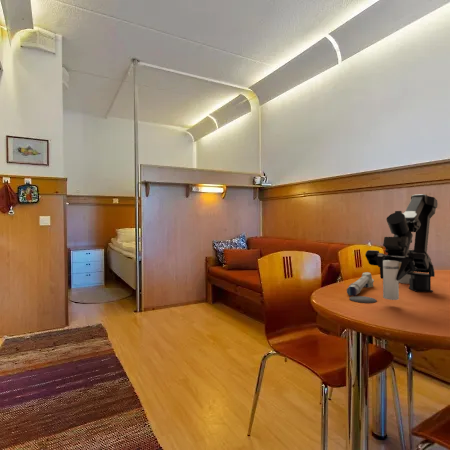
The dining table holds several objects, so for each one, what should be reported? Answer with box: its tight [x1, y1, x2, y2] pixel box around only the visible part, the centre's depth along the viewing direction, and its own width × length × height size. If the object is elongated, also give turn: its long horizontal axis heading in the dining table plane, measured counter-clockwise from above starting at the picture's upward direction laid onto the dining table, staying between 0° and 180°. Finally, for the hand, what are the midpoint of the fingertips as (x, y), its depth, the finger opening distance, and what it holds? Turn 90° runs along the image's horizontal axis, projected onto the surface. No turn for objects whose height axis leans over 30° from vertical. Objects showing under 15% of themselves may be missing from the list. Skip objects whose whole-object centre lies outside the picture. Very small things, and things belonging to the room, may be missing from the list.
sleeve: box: [382, 260, 400, 301], centre depth 103 cm, size 5×5×12 cm
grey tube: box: [346, 271, 375, 297], centre depth 128 cm, size 5×7×25 cm
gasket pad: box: [348, 295, 378, 304], centre depth 111 cm, size 9×9×1 cm
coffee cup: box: [399, 249, 414, 284], centre depth 143 cm, size 9×9×15 cm
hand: (389, 278), depth 102 cm, fingers closed on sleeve, 5 cm apart
